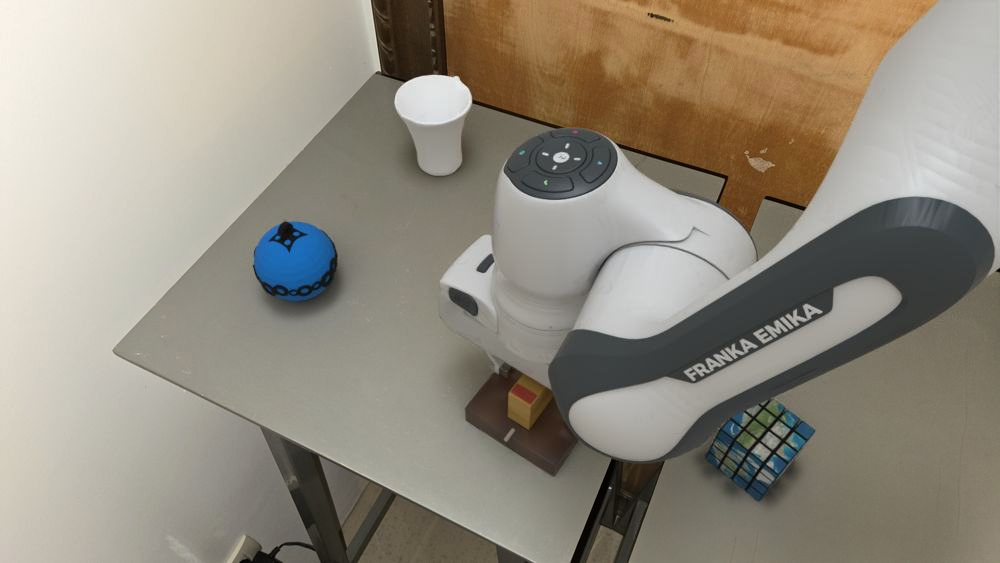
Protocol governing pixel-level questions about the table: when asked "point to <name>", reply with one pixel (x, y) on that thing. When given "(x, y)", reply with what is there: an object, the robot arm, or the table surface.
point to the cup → (435, 120)
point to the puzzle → (759, 446)
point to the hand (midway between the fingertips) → (539, 391)
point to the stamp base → (539, 443)
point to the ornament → (295, 261)
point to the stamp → (527, 401)
